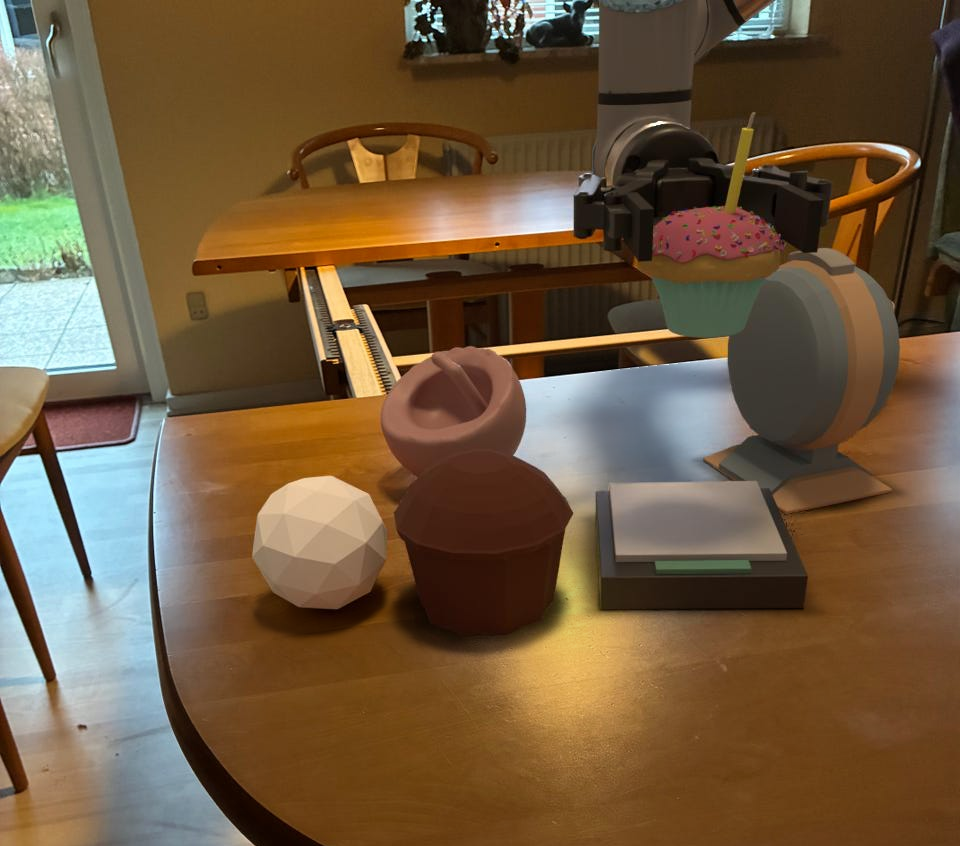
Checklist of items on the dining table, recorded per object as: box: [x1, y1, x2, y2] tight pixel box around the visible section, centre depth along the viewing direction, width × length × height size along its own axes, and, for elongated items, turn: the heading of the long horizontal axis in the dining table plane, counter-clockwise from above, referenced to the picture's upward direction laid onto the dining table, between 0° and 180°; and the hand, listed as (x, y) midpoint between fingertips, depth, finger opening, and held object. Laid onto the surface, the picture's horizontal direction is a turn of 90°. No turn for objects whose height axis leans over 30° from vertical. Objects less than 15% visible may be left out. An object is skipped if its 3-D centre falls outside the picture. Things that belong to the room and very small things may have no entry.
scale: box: [594, 480, 809, 610], centre depth 69 cm, size 13×14×3 cm
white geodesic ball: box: [251, 475, 388, 610], centre depth 66 cm, size 9×9×12 cm
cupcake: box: [636, 111, 787, 339], centre depth 58 cm, size 9×8×12 cm
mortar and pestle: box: [380, 345, 527, 478], centre depth 81 cm, size 12×12×12 cm
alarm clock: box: [702, 247, 901, 515], centre depth 77 cm, size 14×10×18 cm
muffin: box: [393, 450, 575, 637], centre depth 63 cm, size 12×11×10 cm
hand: (729, 231), depth 54 cm, fingers closed on cupcake, 8 cm apart
